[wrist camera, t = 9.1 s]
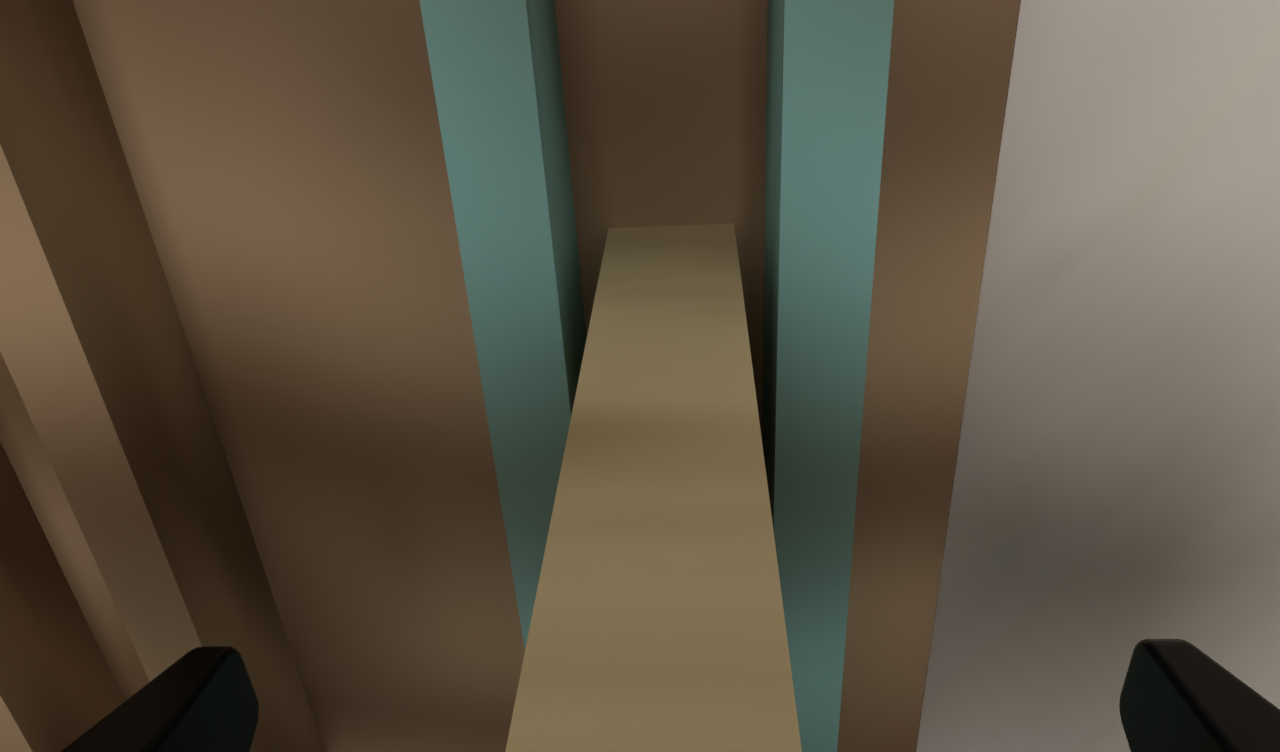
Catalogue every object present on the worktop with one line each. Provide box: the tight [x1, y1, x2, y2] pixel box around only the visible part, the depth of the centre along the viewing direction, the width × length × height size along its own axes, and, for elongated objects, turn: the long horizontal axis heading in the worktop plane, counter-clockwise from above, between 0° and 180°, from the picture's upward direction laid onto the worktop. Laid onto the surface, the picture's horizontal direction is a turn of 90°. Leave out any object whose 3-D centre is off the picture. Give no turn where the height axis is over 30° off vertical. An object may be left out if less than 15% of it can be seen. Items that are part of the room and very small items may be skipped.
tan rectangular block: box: [505, 223, 802, 752], centre depth 9 cm, size 5×2×9 cm, turn 3°
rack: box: [0, 0, 1021, 752], centre depth 13 cm, size 20×24×3 cm
